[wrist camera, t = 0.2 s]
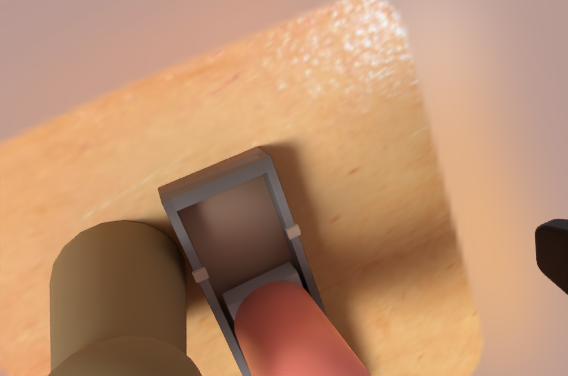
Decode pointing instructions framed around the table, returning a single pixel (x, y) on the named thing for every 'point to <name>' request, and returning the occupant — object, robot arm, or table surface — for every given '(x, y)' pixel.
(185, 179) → the track
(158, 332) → the olive rounded upright piece
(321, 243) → the table surface
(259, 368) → the plug
